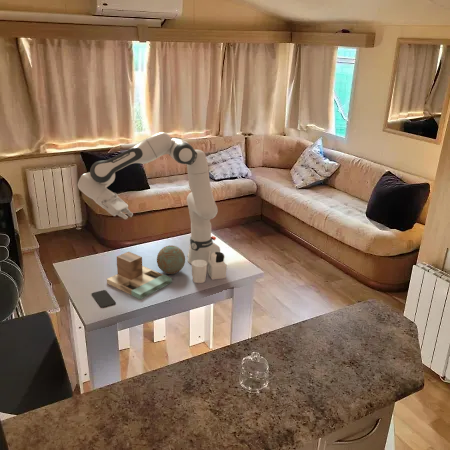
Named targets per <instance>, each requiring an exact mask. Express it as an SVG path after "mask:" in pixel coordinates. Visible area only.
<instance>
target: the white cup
mask: <svg viewBox="0 0 450 450" xmlns="http://www.w3.org/2000/svg"><path fill="white" fill-rule="evenodd" d="M207 272H208V266H207V262H206V261H204V260H194V261H193V262H192V264H191V276H192V277H191V278H192V282H193V283H195V284H203V283H205V282H206V279H207V277H206V276H207Z"/></svg>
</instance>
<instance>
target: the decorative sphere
mask: <svg viewBox="0 0 450 450" xmlns="http://www.w3.org/2000/svg"><path fill="white" fill-rule="evenodd" d="M185 263H186V256H185V253H184V251H183V250H182V249H181V248H180V247H178V246H177V245H167V246H164V247H162V248H161V249H160V250H159V252H158V253H157V256H156V264H157V267H158V268H159V270H160V271H161V272H163V273H165V274H169V275H174V274H176V273H178V272H181V270H182V269H183V268H184V266H185Z"/></svg>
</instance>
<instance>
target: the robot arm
mask: <svg viewBox="0 0 450 450" xmlns="http://www.w3.org/2000/svg"><path fill="white" fill-rule="evenodd" d="M164 155H169V156H170V157H171V158H172V159H173V160H174V161H176V163H179V164H181V165H186V169H187V171H186V173H187V178H188V179H187V180H188V187H189V189H190V192H189V193H188V194H187V196H186V203H187V208H188V214H189V219H190V238H189V245H188V246H189V248H188V254H187V255H186V257H187V262H188V264H190V265H192V262H193V261H194V260H204V261H206V262H207V267H208V261H210V260H211V254H212V253H214V252H221V247H220V246H219V245H218V244H216V243H215V242H214V241H216V239H217V237H216V236H213V235H212V223H211V220H213V219H214V218H215V217H216V216H217V214H218V206H217V204H216V200H215V198H214V197H215V196H214V193H213V190H212V186H211V181H210V171H209V164H208V160H207V156H206V153H205V151H203V150H201V149H195V148H194V146H193V145H191V144H190V143H189V142H188V141H187V140H185V139H183V138H181V137H171V136H170V135H169V134H168V133H166V132H164V131H160V132H158V133H154V134H153V135H152V134H151V135H150V136H148V137H146V138H145V139H143V140H140V142H138V143H137V144H135V145H133V146H132V147H130V148H129V149H127V150H125V151H123V152H120V153H118V155H116V156H113V157H111V158H110V159H105V160H98V161H95V162H94V163H92V165H91V167H90V170H89V171H88V172H86V173H83V174H82V175H80V177H79V178H78V180H77V188H78V190H79V191H80V192H82V194H84V195H85V196H86V197H88V198H89V199H91V200H92V201H94V202H95V204H97V205H98V206H99V207H101V208H102V209H104V210H105V211H106V212H107V213H108V214H110V215H111V216H113V217H116V216H118V217H119V218H122V219H124V220H128V218H129V217H130V218H132V217H133V215H134V213H133V212H131V211H130V209H129V205H128V203H127V202H126V201H124V200H123V198H121V197H119V196H118V194H117V193H116V192H113V191H112V190H110V189H108V188H109V186H111V184H113V183H114V182H115V179H116V172H118V171H120V170H122V169H124V168H125V167H128V166H130V165H132V164H142V165H146V164H149V163H151V162H153V161H155V160H157V159H159V158H160V157H162V156H164Z"/></svg>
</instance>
